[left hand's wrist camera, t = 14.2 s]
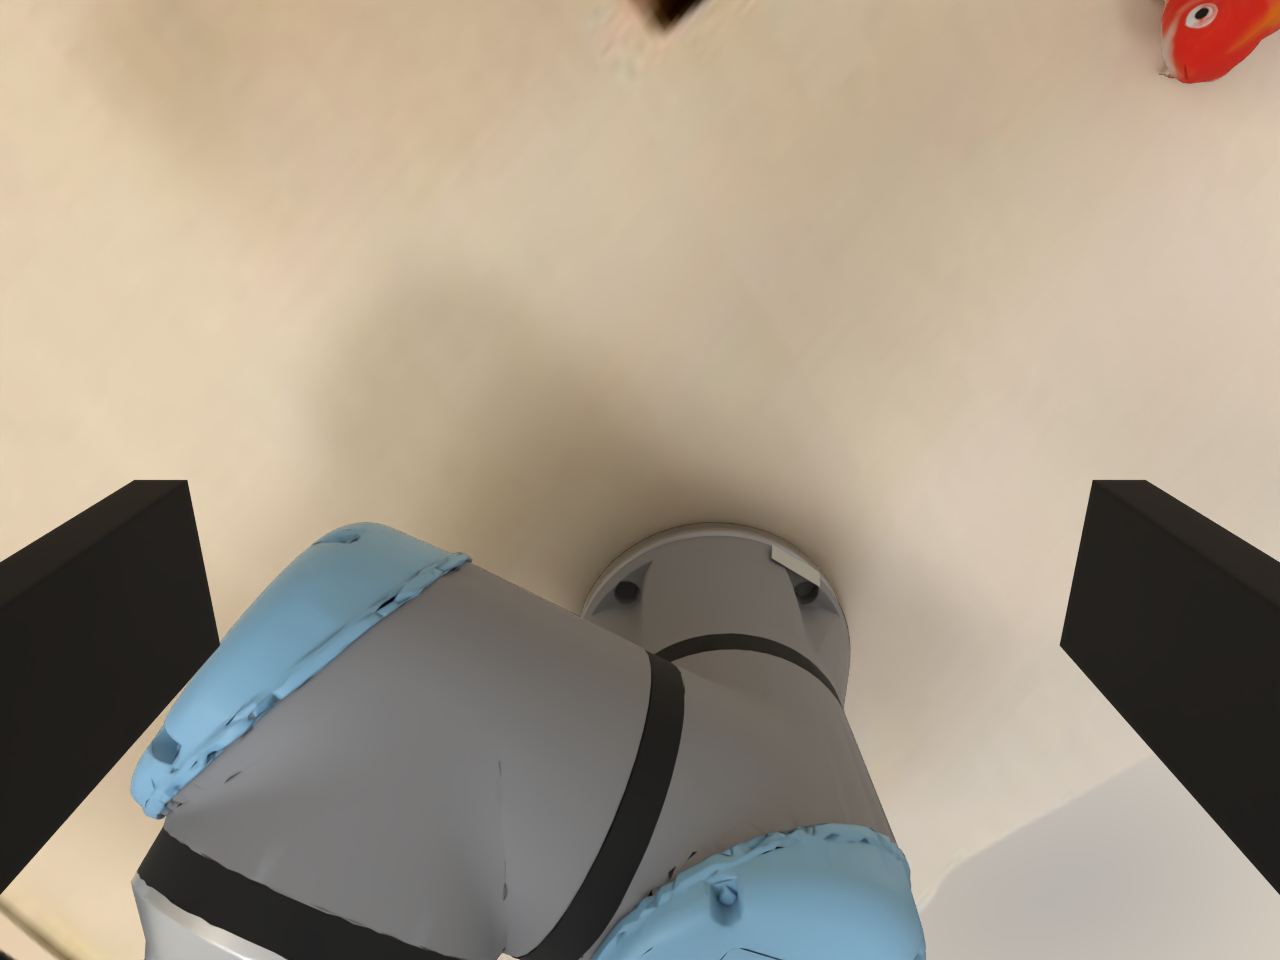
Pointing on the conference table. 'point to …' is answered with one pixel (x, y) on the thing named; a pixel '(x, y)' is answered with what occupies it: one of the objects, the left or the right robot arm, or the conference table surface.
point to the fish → (1213, 35)
